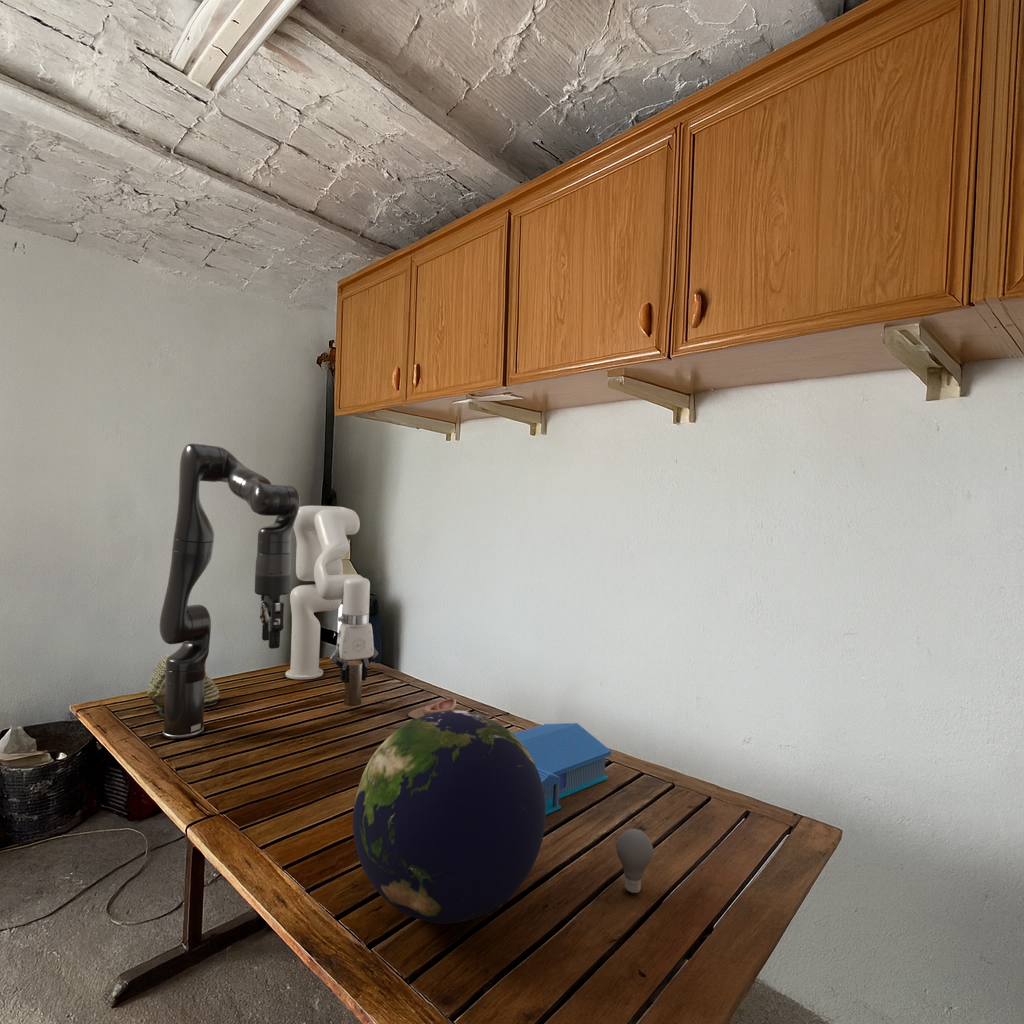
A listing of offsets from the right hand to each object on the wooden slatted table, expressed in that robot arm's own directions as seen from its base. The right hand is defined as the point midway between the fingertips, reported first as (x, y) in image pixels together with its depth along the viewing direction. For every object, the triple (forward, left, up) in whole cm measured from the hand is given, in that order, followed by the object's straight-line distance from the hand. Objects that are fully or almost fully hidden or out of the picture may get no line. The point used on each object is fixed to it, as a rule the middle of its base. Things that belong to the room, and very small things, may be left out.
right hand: (353, 680), depth 187 cm
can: (0, 0, -7) cm, 7 cm away
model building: (+66, +12, -9) cm, 68 cm away
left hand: (+30, -33, +20) cm, 49 cm away
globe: (+92, -23, -9) cm, 96 cm away
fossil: (-27, -41, -9) cm, 50 cm away
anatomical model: (+15, +18, -9) cm, 25 cm away
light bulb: (+106, +5, -9) cm, 107 cm away
